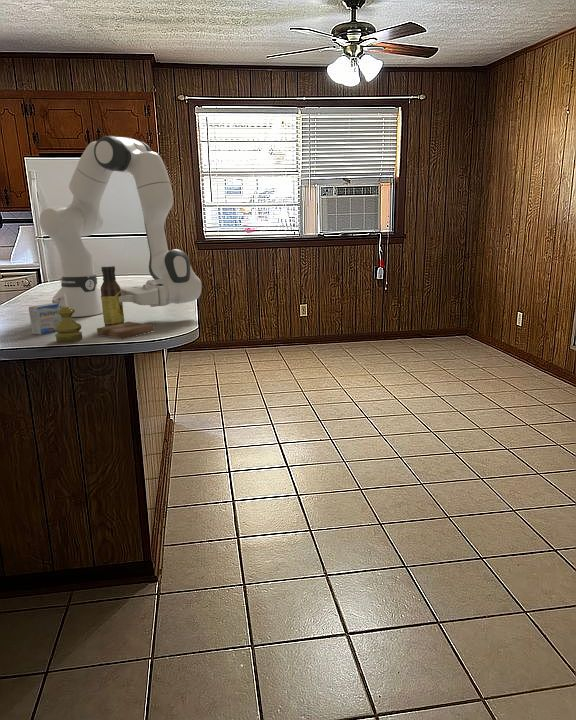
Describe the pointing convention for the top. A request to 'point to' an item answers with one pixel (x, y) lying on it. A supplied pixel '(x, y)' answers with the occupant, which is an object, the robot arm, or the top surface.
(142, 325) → the walnut tray
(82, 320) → the top surface
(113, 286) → the sauce bottle
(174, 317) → the top surface
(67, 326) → the gold stacked ornament
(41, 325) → the medicine box
